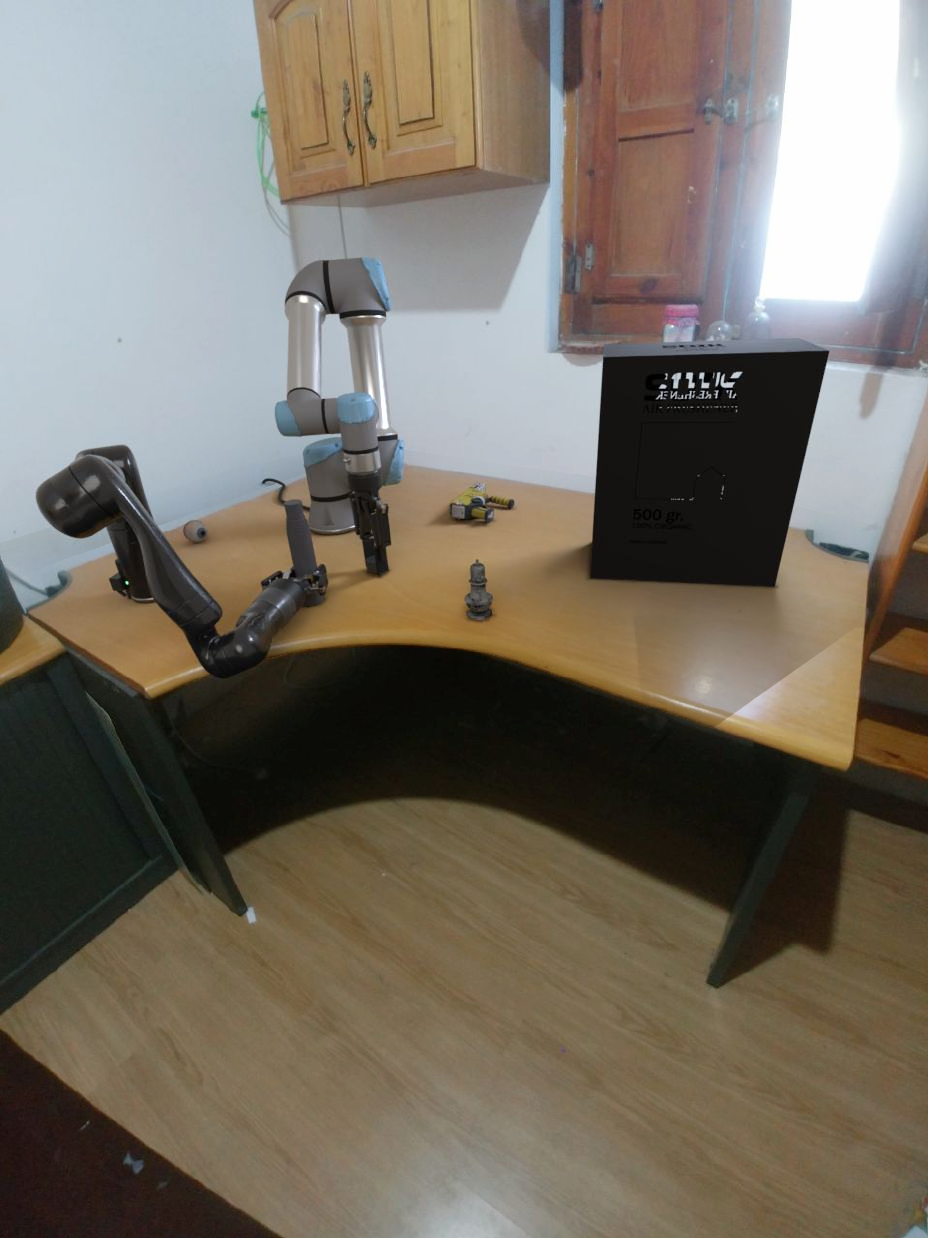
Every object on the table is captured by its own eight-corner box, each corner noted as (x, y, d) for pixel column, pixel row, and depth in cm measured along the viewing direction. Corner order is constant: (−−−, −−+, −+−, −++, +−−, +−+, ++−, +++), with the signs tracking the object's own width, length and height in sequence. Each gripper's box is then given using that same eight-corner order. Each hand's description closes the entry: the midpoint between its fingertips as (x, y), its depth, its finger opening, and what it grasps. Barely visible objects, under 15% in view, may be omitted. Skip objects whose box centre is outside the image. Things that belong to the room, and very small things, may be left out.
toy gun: (522, 487, 180) (475, 480, 184) (500, 511, 160) (447, 502, 164) (521, 502, 182) (474, 495, 186) (499, 527, 162) (447, 519, 166)
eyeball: (196, 547, 160) (190, 526, 157) (181, 543, 163) (175, 522, 160) (215, 539, 164) (209, 518, 161) (200, 536, 167) (194, 515, 164)
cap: (363, 569, 141) (361, 559, 140) (378, 562, 144) (377, 553, 143) (375, 574, 138) (374, 564, 137) (391, 567, 141) (389, 558, 140)
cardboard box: (755, 547, 142) (798, 337, 120) (774, 586, 125) (829, 350, 102) (592, 542, 150) (603, 344, 127) (589, 578, 133) (603, 356, 110)
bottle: (327, 601, 130) (308, 501, 119) (306, 608, 127) (285, 507, 116) (317, 593, 133) (298, 496, 122) (297, 600, 131) (276, 502, 120)
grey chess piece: (491, 621, 118) (489, 566, 112) (462, 620, 120) (458, 565, 114) (496, 607, 123) (494, 553, 117) (468, 605, 124) (465, 552, 118)
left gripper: (308, 589, 112) (340, 552, 126) (237, 586, 114) (277, 550, 129) (315, 624, 115) (345, 584, 130) (246, 620, 118) (284, 581, 132)
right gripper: (329, 466, 134) (345, 562, 145) (369, 482, 121) (383, 586, 133) (358, 459, 137) (372, 553, 149) (400, 474, 125) (411, 575, 137)
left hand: (311, 567), depth 129 cm, fingers closed on bottle, 4 cm apart
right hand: (377, 568), depth 141 cm, fingers closed on cap, 4 cm apart
